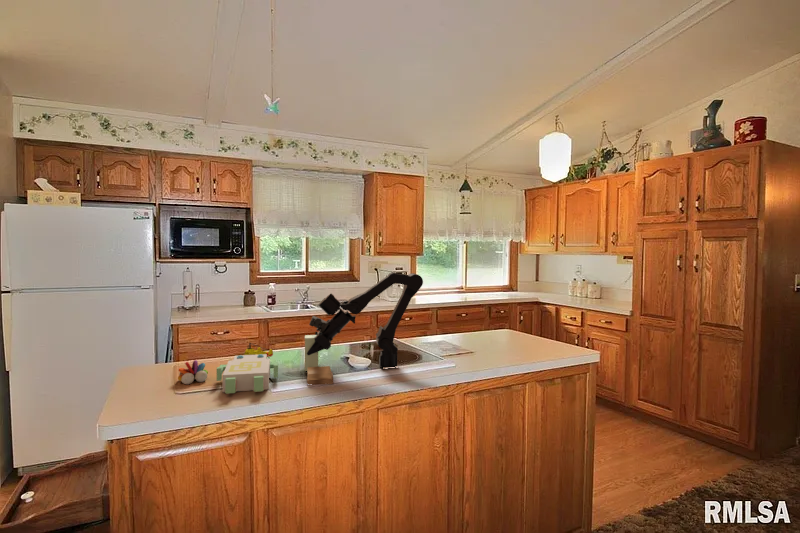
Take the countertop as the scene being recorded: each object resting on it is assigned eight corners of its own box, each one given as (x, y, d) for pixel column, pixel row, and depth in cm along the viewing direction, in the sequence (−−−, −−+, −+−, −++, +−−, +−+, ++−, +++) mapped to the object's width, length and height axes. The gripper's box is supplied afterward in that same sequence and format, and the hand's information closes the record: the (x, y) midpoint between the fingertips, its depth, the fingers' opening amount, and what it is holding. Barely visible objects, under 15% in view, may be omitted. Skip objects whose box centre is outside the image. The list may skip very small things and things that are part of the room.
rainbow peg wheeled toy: (176, 380, 153) (175, 360, 153) (205, 375, 159) (204, 355, 159) (180, 387, 147) (179, 366, 146) (210, 381, 152) (210, 361, 152)
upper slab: (329, 371, 159) (329, 366, 159) (331, 378, 152) (331, 372, 152) (307, 373, 157) (307, 367, 157) (308, 380, 150) (308, 374, 150)
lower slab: (332, 377, 160) (332, 371, 160) (333, 385, 151) (333, 379, 151) (307, 378, 158) (307, 372, 158) (307, 387, 149) (307, 380, 149)
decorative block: (222, 354, 160) (278, 351, 165) (222, 371, 161) (278, 368, 166) (210, 378, 136) (277, 374, 141) (210, 397, 136) (277, 393, 141)
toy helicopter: (274, 362, 176) (274, 338, 175) (240, 375, 159) (240, 348, 159) (262, 360, 178) (262, 336, 178) (228, 372, 162) (227, 346, 161)
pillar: (318, 367, 170) (318, 334, 169) (318, 371, 165) (318, 337, 164) (305, 368, 169) (305, 335, 168) (304, 372, 164) (304, 338, 163)
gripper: (322, 305, 175) (294, 333, 174) (321, 313, 157) (290, 344, 156) (341, 324, 177) (314, 351, 176) (343, 334, 158) (312, 365, 157)
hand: (307, 352), depth 166 cm, fingers closed on pillar, 5 cm apart
